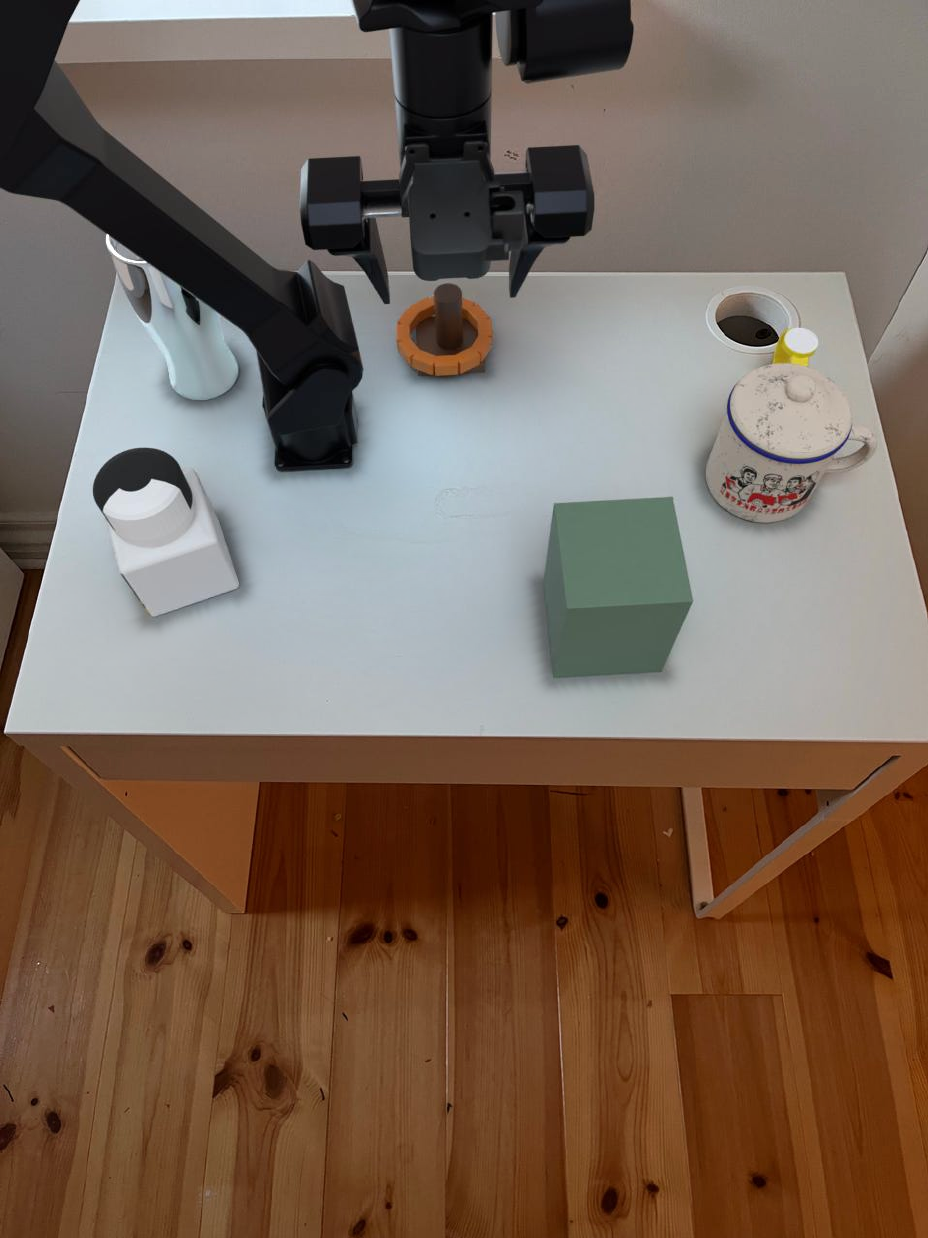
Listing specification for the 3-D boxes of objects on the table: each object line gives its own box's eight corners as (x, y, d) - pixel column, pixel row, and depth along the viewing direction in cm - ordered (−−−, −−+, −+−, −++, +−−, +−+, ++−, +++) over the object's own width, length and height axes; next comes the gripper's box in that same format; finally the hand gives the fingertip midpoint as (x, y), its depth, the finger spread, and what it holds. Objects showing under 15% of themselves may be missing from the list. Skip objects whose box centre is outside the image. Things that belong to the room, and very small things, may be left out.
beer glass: (251, 347, 81) (206, 204, 68) (234, 407, 78) (184, 268, 65) (176, 343, 82) (117, 198, 68) (156, 402, 78) (91, 263, 65)
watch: (761, 361, 80) (781, 310, 74) (792, 363, 80) (815, 312, 74) (765, 414, 77) (786, 365, 72) (798, 416, 77) (822, 367, 71)
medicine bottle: (131, 546, 72) (71, 453, 61) (218, 518, 73) (173, 421, 62) (151, 619, 69) (91, 535, 58) (241, 589, 70) (198, 500, 59)
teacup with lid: (701, 522, 72) (739, 428, 62) (701, 432, 76) (736, 331, 66) (854, 535, 71) (918, 443, 61) (844, 444, 75) (903, 343, 65)
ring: (398, 377, 78) (397, 368, 77) (396, 307, 82) (395, 297, 81) (494, 372, 78) (495, 363, 77) (488, 302, 82) (488, 292, 81)
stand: (417, 376, 79) (413, 321, 74) (415, 326, 82) (411, 269, 76) (485, 372, 79) (486, 317, 74) (480, 323, 82) (481, 265, 76)
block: (553, 678, 66) (566, 608, 56) (543, 584, 70) (553, 502, 60) (661, 672, 66) (693, 601, 56) (645, 578, 70) (672, 496, 60)
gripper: (277, 188, 48) (321, 388, 62) (621, 171, 48) (589, 373, 62) (283, 63, 53) (323, 273, 67) (595, 48, 54) (571, 260, 67)
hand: (449, 296), depth 66 cm, fingers open, 9 cm apart
